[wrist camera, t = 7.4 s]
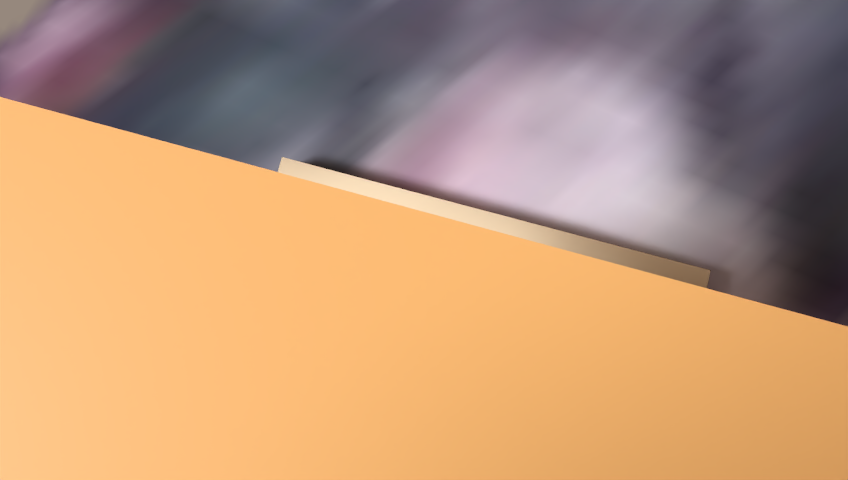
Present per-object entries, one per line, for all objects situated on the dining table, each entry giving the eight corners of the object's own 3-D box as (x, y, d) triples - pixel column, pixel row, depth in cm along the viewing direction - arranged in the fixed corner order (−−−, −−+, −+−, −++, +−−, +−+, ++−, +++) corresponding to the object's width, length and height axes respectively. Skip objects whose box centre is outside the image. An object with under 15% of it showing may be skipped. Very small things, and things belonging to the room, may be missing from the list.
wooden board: (598, 719, 20) (606, 738, 19) (160, 587, 21) (146, 599, 20) (698, 274, 21) (710, 270, 20) (289, 165, 22) (282, 157, 21)
